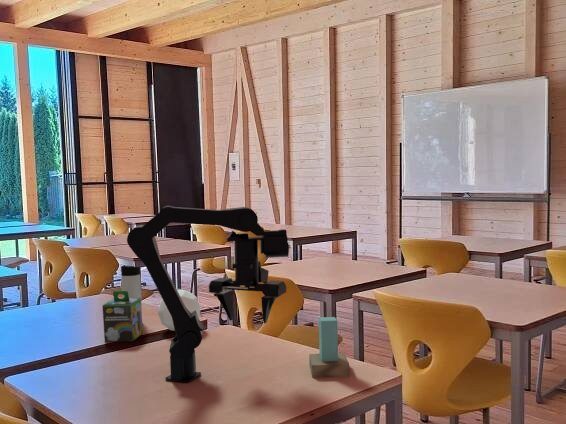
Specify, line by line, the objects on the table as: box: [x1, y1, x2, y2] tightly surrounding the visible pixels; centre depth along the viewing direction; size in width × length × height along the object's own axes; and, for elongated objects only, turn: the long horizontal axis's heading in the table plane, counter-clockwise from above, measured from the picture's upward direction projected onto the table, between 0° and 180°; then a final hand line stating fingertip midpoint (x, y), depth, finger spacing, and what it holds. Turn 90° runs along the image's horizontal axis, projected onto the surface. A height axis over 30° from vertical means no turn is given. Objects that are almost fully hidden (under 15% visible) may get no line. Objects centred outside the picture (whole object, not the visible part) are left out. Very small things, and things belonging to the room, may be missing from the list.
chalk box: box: [102, 290, 144, 343], centre depth 180 cm, size 9×9×15 cm
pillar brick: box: [318, 316, 339, 362], centre depth 146 cm, size 4×4×10 cm
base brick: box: [308, 352, 350, 379], centre depth 146 cm, size 9×9×4 cm
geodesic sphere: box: [157, 288, 201, 332], centre depth 187 cm, size 14×14×14 cm
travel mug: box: [120, 265, 143, 314], centre depth 197 cm, size 6×7×20 cm
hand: (248, 321), depth 145 cm, fingers open, 9 cm apart
